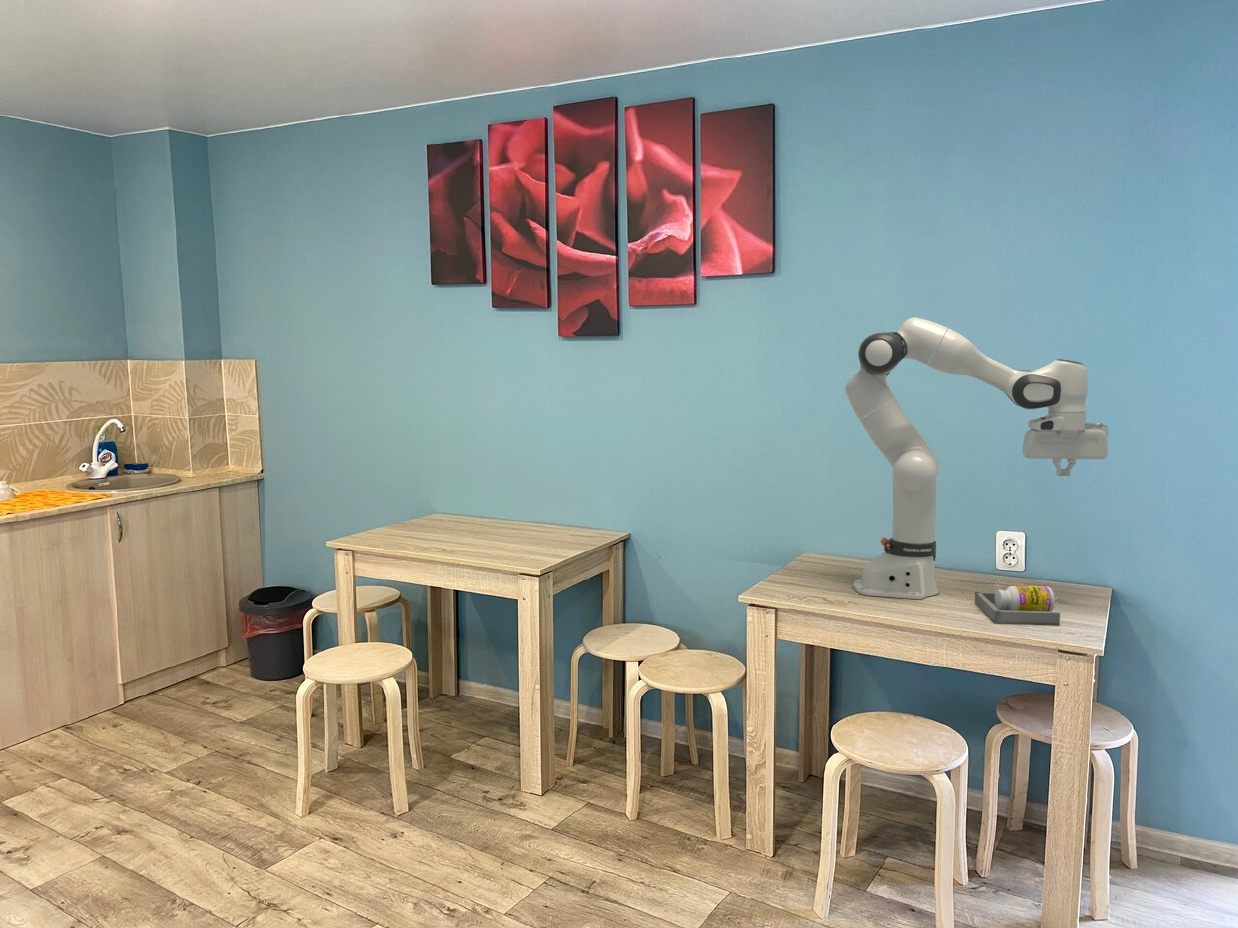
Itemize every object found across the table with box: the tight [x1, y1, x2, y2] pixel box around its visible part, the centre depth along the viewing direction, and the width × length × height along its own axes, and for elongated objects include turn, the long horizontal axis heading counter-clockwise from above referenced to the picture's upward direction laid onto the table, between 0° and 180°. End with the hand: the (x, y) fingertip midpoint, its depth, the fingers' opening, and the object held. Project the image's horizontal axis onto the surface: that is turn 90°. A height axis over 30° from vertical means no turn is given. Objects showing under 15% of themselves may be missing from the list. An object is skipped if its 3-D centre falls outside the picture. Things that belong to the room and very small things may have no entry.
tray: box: [974, 591, 1061, 626], centre depth 233 cm, size 15×18×3 cm
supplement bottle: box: [995, 585, 1056, 612], centre depth 232 cm, size 7×7×13 cm
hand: (1063, 475), depth 241 cm, fingers closed
